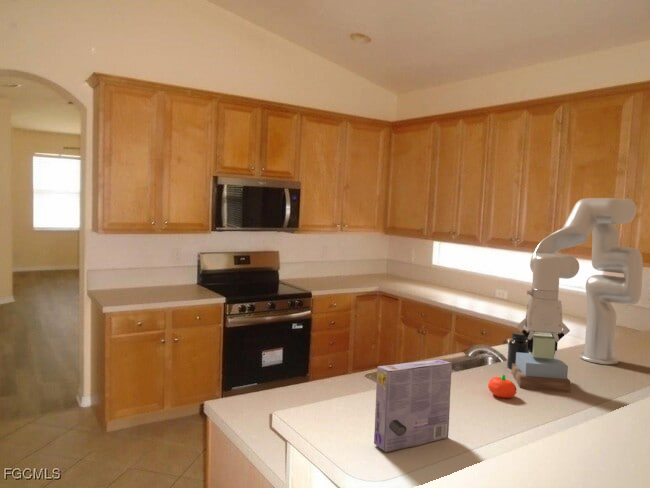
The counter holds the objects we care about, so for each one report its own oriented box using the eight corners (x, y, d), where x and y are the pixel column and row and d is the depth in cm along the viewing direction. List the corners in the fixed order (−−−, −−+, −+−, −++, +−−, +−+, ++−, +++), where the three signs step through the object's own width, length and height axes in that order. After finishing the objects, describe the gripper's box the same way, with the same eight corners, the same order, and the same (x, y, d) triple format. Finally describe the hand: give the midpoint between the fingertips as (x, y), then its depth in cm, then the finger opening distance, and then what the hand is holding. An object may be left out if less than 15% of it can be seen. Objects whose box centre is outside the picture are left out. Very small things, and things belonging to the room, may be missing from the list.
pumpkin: (499, 391, 145) (502, 370, 145) (519, 401, 137) (523, 378, 137) (480, 391, 142) (483, 369, 142) (500, 401, 134) (504, 378, 134)
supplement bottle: (525, 372, 162) (527, 337, 162) (504, 368, 166) (506, 333, 166) (530, 367, 168) (532, 333, 167) (510, 363, 172) (512, 330, 171)
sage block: (529, 351, 156) (530, 333, 155) (549, 353, 154) (550, 334, 154) (533, 357, 150) (534, 338, 149) (554, 358, 149) (555, 339, 148)
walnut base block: (511, 375, 161) (511, 363, 161) (556, 379, 158) (557, 367, 158) (519, 389, 147) (520, 376, 147) (569, 394, 144) (570, 381, 144)
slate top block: (515, 364, 159) (516, 352, 159) (554, 367, 158) (554, 355, 158) (525, 375, 148) (526, 363, 147) (567, 379, 146) (567, 366, 146)
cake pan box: (438, 429, 116) (442, 356, 115) (453, 437, 112) (457, 362, 111) (371, 444, 107) (374, 365, 106) (384, 454, 103) (388, 372, 102)
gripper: (517, 295, 149) (514, 353, 150) (578, 298, 146) (574, 358, 147) (513, 291, 156) (510, 346, 157) (571, 295, 153) (567, 351, 154)
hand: (541, 351), depth 152 cm, fingers closed on sage block, 5 cm apart
